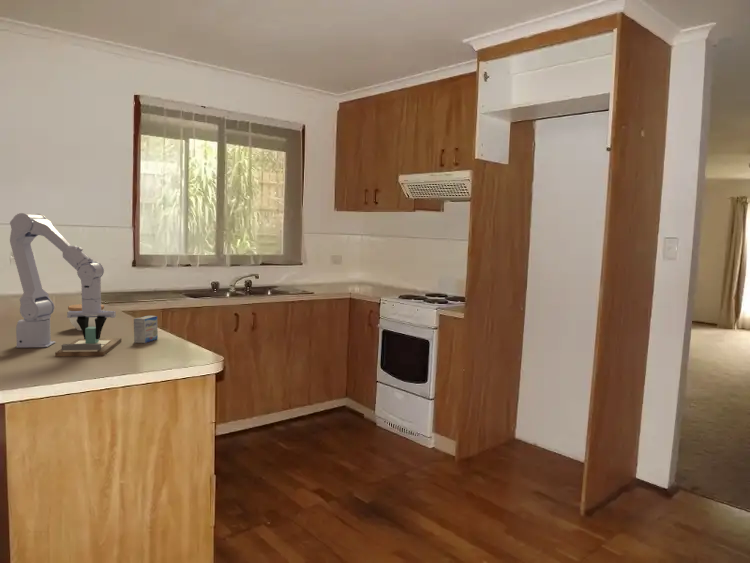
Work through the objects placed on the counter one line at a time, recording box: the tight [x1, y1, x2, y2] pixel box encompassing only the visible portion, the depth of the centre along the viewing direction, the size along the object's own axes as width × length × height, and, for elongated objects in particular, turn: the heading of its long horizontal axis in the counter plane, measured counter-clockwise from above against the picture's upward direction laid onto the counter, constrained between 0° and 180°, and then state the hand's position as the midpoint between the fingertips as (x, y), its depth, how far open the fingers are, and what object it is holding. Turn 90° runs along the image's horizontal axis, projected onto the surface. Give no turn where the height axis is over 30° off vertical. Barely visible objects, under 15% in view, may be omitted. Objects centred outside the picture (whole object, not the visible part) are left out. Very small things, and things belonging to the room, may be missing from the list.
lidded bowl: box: [67, 303, 105, 331], centre depth 220 cm, size 13×13×11 cm
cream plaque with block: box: [75, 327, 111, 345], centre depth 188 cm, size 10×6×5 cm, turn 101°
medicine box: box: [133, 315, 159, 344], centre depth 201 cm, size 8×4×9 cm, turn 168°
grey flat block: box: [61, 343, 105, 352], centre depth 181 cm, size 11×9×2 cm
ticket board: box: [54, 337, 122, 357], centre depth 187 cm, size 14×22×1 cm, turn 11°
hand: (92, 338), depth 188 cm, fingers closed on cream plaque with block, 3 cm apart
